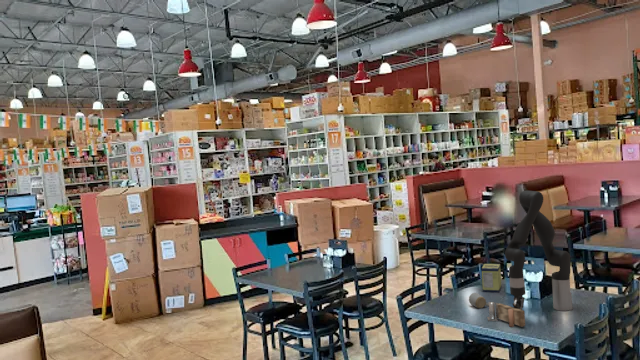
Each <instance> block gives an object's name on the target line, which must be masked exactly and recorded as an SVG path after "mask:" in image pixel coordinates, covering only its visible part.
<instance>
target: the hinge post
mask: <svg viewBox="0 0 640 360" xmlns="http://www.w3.org/2000/svg"><path fill="white" fill-rule="evenodd" d="M488 303H489V306H488V315H489V316H487V317H486V318H487V321H488V322H498V321H499V318H496V305H495V302H494V301H488Z"/></svg>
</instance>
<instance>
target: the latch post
mask: <svg viewBox="0 0 640 360" xmlns="http://www.w3.org/2000/svg"><path fill="white" fill-rule="evenodd" d="M508 315H509V322H508V327H510V328H513V327H515V324H514V317H513V309H508Z"/></svg>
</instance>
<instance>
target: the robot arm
mask: <svg viewBox="0 0 640 360" xmlns="http://www.w3.org/2000/svg"><path fill="white" fill-rule="evenodd" d="M518 199H519V203H520V205H521V207H522V208H523V210H524V212H525V214H526V215H525V216H524V217H523V218H522V220H521V221H520V222H519V223H518V224H517V225H516V227H515V230H514V233H513V236H512V239H511V240H510V242H509V243H508V245H507V247H506V248H505V251H504V257H505V259H506V260H507V261H510V262H513V265H510V266H509V268H508V274H509V293H510V295H512V296H513V302H512V307H514V308H517V309H520V310H523V309H524V303H525V297H524V296H525V295H526V284H525V278H524V276H525V275H524V267H525V262H526V261H525V260H526V254H525V251H524V250H522V249H520V247H522V246H526V243H527V240H528V238H529V234H530V231H531V229H532V227H533V229H534V231H535V234H536V235H537V238H538V239H539V241H540V243H541V246H542V248H543V251H544V254H545V257H546V260H547V262H548V264H549V265H551V266H553V267H558V268H559V270H558V271H554V272H552V273H551V285H552V286H551V287H552V302H553V303H552V306H553V309H554V310H556V311H562V312H565V311H566V312H567V311H572V310H573V295H572V292H571V280H570V279H571V278H570V277H571V263H572V262H571V254H570V253H569V251H566V250H560V249H556V248H555V246H554V244H553V242H554V238H555V234H556V232H555V229H554V227H553V224H552V222H551V221H550V219H549V218H548V217H547V216H545V214H543V213H542V211H540V210H541V208H542V206H543V204H544V194H543V193H542V192H540V191H536V190H522V191H521V192H520V194H519V198H518Z"/></svg>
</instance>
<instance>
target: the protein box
mask: <svg viewBox="0 0 640 360" xmlns="http://www.w3.org/2000/svg"><path fill="white" fill-rule="evenodd" d="M482 265H483V266H482V267H481V282H482V283H481V284H482V292H483V293H500V291H501V289H502V287H503V286H502V272H501V264H500V263H483V264H482Z"/></svg>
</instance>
